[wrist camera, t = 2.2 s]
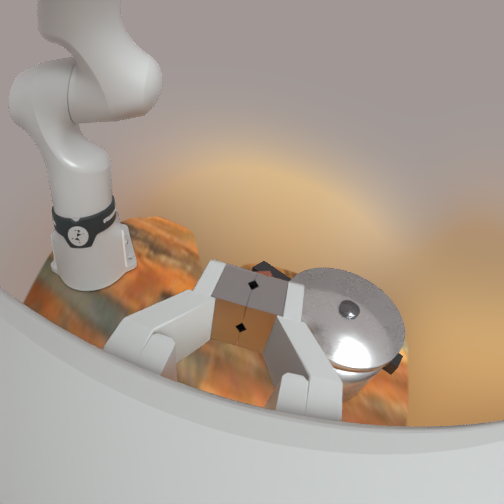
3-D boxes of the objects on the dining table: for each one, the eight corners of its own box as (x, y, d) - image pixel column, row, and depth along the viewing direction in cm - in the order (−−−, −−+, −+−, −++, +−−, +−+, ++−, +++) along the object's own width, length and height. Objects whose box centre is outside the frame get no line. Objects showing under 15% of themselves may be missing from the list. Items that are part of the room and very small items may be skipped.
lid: (358, 269, 47) (377, 229, 42) (421, 350, 33) (453, 310, 29) (216, 281, 38) (223, 229, 34) (260, 406, 24) (282, 365, 20)
